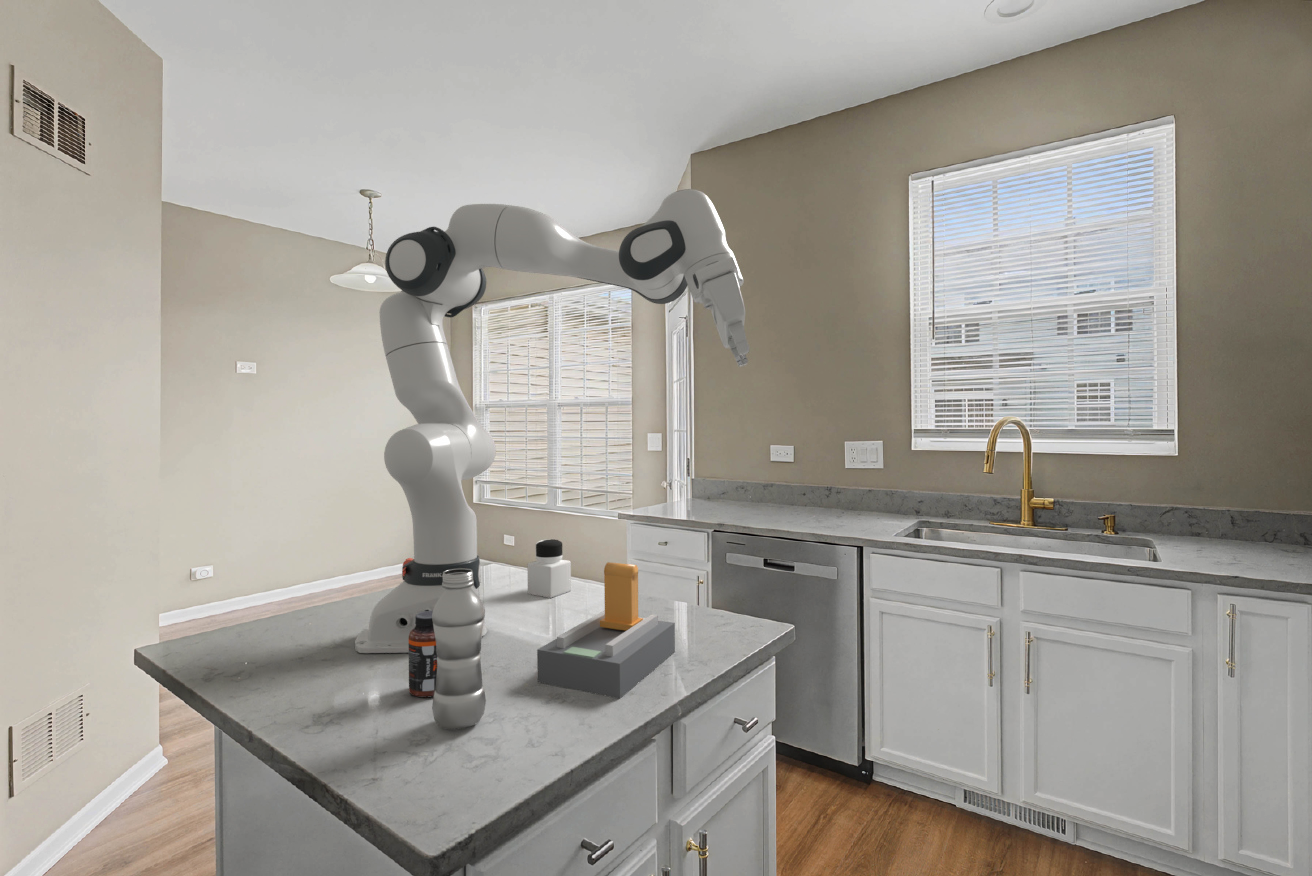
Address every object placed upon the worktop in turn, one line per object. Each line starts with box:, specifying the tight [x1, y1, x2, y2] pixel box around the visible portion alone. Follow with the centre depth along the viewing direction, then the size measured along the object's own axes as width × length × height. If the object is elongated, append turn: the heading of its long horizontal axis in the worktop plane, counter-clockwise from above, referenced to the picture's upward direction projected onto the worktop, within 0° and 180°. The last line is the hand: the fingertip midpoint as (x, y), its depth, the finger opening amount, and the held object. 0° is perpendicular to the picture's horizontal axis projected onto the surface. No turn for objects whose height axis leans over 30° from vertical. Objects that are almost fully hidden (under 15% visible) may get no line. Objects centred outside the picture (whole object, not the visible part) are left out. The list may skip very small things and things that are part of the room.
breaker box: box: [536, 609, 676, 699], centre depth 104 cm, size 20×14×7 cm
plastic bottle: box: [431, 569, 487, 730], centre depth 84 cm, size 6×7×20 cm
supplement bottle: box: [408, 611, 437, 698], centre depth 95 cm, size 6×6×11 cm
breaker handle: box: [600, 561, 644, 631], centre depth 107 cm, size 4×6×10 cm, turn 65°
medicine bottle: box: [527, 538, 572, 599], centre depth 148 cm, size 7×7×12 cm
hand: (744, 359), depth 106 cm, fingers open, 8 cm apart
